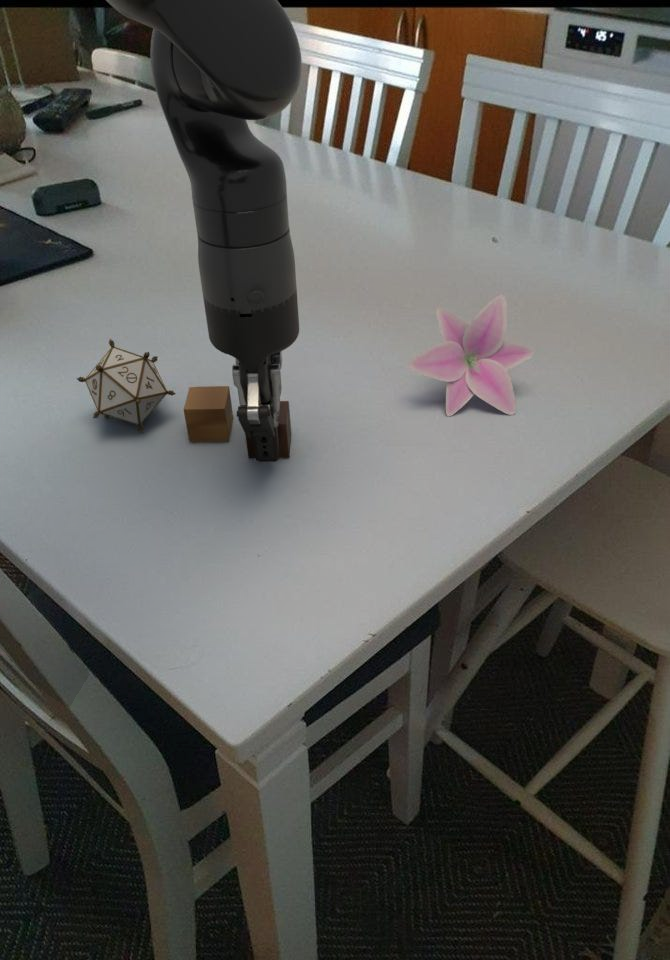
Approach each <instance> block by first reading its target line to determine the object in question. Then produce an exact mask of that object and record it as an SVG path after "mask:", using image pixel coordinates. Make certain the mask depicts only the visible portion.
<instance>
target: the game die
mask: <svg viewBox="0 0 670 960" xmlns="http://www.w3.org/2000/svg"><path fill="white" fill-rule="evenodd" d="M108 344H109V346H110V349H109V350H108V351H107V352H106V354H105V355H104V356H103V357H102V358H101V359H100V361H98V363H97V364H96V365H95V366H94V368H93V369H92V370H91V371H90V373H89V374H88V375H87V376H86V377H84V376H79V377H77V378H76V380H77V381H78V382H79V383H85V384H86V388H87V389H88V391H89V394H90V397H91V399H92V401H93V403H94V406H95V408H96V410H97V411H95V412H94V413H93V414H92V415H93V416H92V418H93V419H98V418H99V417H100V416H101V415H102V416H103V417H104V419H110V418H112V419H115V420H119V421H122V422H125V423H128V424H132V425H135V426H137V430H138V432H140V433H141V434H143V433H144V427H143V423H144V422H145V421H146V420H147V418H148V417H149V416H150V415H151V413H153V411H154V410H155V409H156V408H157V407H158V405H159V404H160V403H161V401H163V399H164V398H165V397H166V396H167V395H168V396H171V397H172V396H174V395H176V394H177V393H176V392H174V391H173V390H167V388H166V385H165V384H164V382H163V379H162V377H161V375H160V373H159V371H158V368H157V367H156V364H155V363H156V362H157V361H158V355H156V356H155V355H154V356H152V358H151V359H150V358H149V357H150V356H151V354H150V351H147V352H144V353H143V355H140V354H137V353H134V352H131V351H128V350H125V349H123V348H120V347H118V346H117V347H116V345H115V340H112V338H109V340H108Z"/></svg>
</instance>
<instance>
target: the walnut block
mask: <svg viewBox="0 0 670 960" xmlns="http://www.w3.org/2000/svg"><path fill="white" fill-rule="evenodd" d="M277 421H278V438H279V458H278V459H289V458H290V454H291V442H292V424H291V423H292V422H291V411H290V402H289V400H280V409H279V416H278V420H277ZM244 436H245V444H246V452H247V459H248V460H255V456H254V448H253V439H252V437H247V436H246V434H245V433H244Z"/></svg>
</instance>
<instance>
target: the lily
mask: <svg viewBox="0 0 670 960" xmlns="http://www.w3.org/2000/svg"><path fill="white" fill-rule="evenodd" d="M435 311H436V318H437V323H438V328H439V332H440V336H441V339H442V342H439V343H437V344H435V345H433V346H431V347H429V348H427V349H426V350H424V351H422V352H420V353H419V354H417V355H415V356H414V357H412V359H410V360H409V361H408V362H407V363H406V368H407V369H408V370H409V371H412V372H413V373H416V374H419V375H421V376H425V377H427V378H431V379H434V380H437V381H441V382H445V383H446V390H445V414H446V416H447V417H451V416H453V415H454V414H456V413H457V412H458V411H459V410H461V408H463V407H464V406H465V405H466V404H467V403H468V402H469V401H470V400H471V399H472V397H474V395H475V396H477V398H479V399H480V400H482V401H484V402H485V403H487V404H488V405H490V406H492V407H493V408H495V409H497V410H499V411H500V412H502V413H504V414H506V415H509V416H515V414H516V411H517V409H516V408H517V404H516V398H515V392H514V387H513V384H512V379H511V376H510V374H509V372H508V371H509V370H511V369H514V368H515V367H517V366H519V365H521V364H522V363H524V362H526V361H527V360H529V359H530V358H532V357H533V356H534V354H535V351H534V350H533V349H531V347H527V346H525V345H522V344H520V343H515V342H513V341H507V340H505V338H506V336H507V335H506V334H507V328H508V327H507V326H508V303H507V297H506V296H505V295H504V294H498V295H497V296H495V297H494V298H493V299H491V300H490V301H489V302H488V303H487V304H486V305H485V306H483V308H482V309H480V310H479V312H478V313H477V314H476V315H474V316H473V317H472V319H471V320H470V321H469V322H468V323H467V322H466V321H464V320H463V319H462V318H461V317H459V316H457V315H456V314H455V313H453V312H451V311H449V310H447V309H446V308H443V307H436V310H435Z"/></svg>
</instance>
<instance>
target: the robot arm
mask: <svg viewBox="0 0 670 960" xmlns="http://www.w3.org/2000/svg"><path fill="white" fill-rule="evenodd" d="M105 1H106V3H108V4H109V5H110V6H111V7H112V8H113V9H114V10H116V11H117V12H118V13H120V14H121V15H123V16H124V17H126V18H128V19H130V20H132V21H135V22H137V23H139V24H142V25H145V26H147V27H149V28H151V29H152V33H151V39H150V51H149V52H150V54H149V55H150V66H151V67H150V68H151V69H150V70H151V75H152V76H151V77H152V80H153V84H154V88H155V92H156V95H157V98H158V101H159V104H160V107H161V109H162V113H163V115H164V118H165V121H166V123H167V127H168V129H169V131H170V134H171V137H172V139H173V142H174V145H175V147H176V150H177V152H178V155H179V158H180V159H181V162H182V164H183V166H184V168H185V171H186V173H187V175H188V178H189V182H190V189H191V199H192V206H193V213H194V218H195V219H194V221H195V227H196V234H197V261H198V272H199V279H200V285H201V292H202V298H203V305H204V312H205V318H206V319H205V320H206V325H207V326H206V327H207V333H208V338H209V341H210V343H211V344H212V346H213V347H214V348H215V349H216V350H218V351H219V352H221V353H223V354H225V355H229V356H231V357H233V358H235V364H232V367H231V368H232V369H231V374H232V383H233V386H234V387H235V388H237V394H238V395H237V396H238V404H239V405H238V406H237V410H236V417H237V419H238V422H239V424H240V427H241V429H242V430H243V433H244V435H245V434H246V436H247V437H252V439H253V448H254V456H255V459H254V461H256V462H257V463H275V462H278V461H279V459H280V458H279V438H278V421H277V420H278V416H279V409H280V401H281V395H282V375H281V370H282V366H283V351H284V350H287V349H288V348H290V347H291V346H292V345H294V343H295V342H296V341H297V339H298V337H299V334H300V317H299V316H300V315H299V303H298V302H299V301H298V287H297V273H296V260H295V259H296V258H295V251H294V245H293V242H292V238H291V230H290V221H289V205H288V190H287V189H288V188H287V178H286V169H285V166H284V163H283V160H282V158H281V157H280V156H279V154H278V153H277V152H276V151H275V150H274V149H273V148H271V147H270V146H268V145H267V144H266V143H264V142H262V141H261V140H259V138H257V137H256V136H255V135H254V134H253V132H252V131H251V129H250V127H249V124H248V122H247V121H263V120H267V119H271V118H272V117H275V116H277V115H279V114H280V113H282V112H283V111H284V110H285V109H286V108H287V107H288V106H289V105H290V104H291V103H292V101H293V99H294V98H295V97H296V95H297V92H298V89H299V86H300V82H301V78H302V70H303V69H302V68H303V64H302V63H303V60H302V51H301V46H300V43H299V39H298V36H297V33H296V29H295V28H294V26H293V23H292V21H291V20H290V19H291V18H290V17H289V16H288V14H287V12H286V10H285V9H284V8H283V6H282V4H280V2H279V1H278V0H105Z"/></svg>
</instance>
